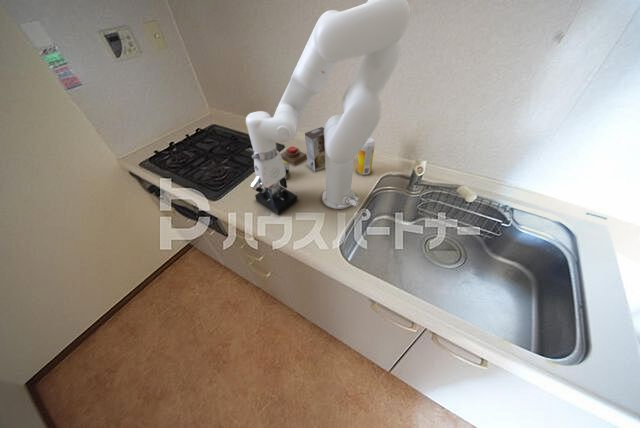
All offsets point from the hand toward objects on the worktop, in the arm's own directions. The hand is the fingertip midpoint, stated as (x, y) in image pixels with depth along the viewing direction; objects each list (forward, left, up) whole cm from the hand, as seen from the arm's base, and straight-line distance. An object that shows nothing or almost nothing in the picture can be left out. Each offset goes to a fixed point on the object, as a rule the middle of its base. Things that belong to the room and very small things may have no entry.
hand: (274, 192), depth 90 cm
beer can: (-16, -37, -5) cm, 41 cm away
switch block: (+17, -26, -4) cm, 31 cm away
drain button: (+17, -26, -1) cm, 31 cm away
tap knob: (0, 0, -1) cm, 1 cm away
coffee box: (+3, -29, -5) cm, 30 cm away
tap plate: (0, 0, -4) cm, 4 cm away
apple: (+11, -12, -5) cm, 17 cm away
